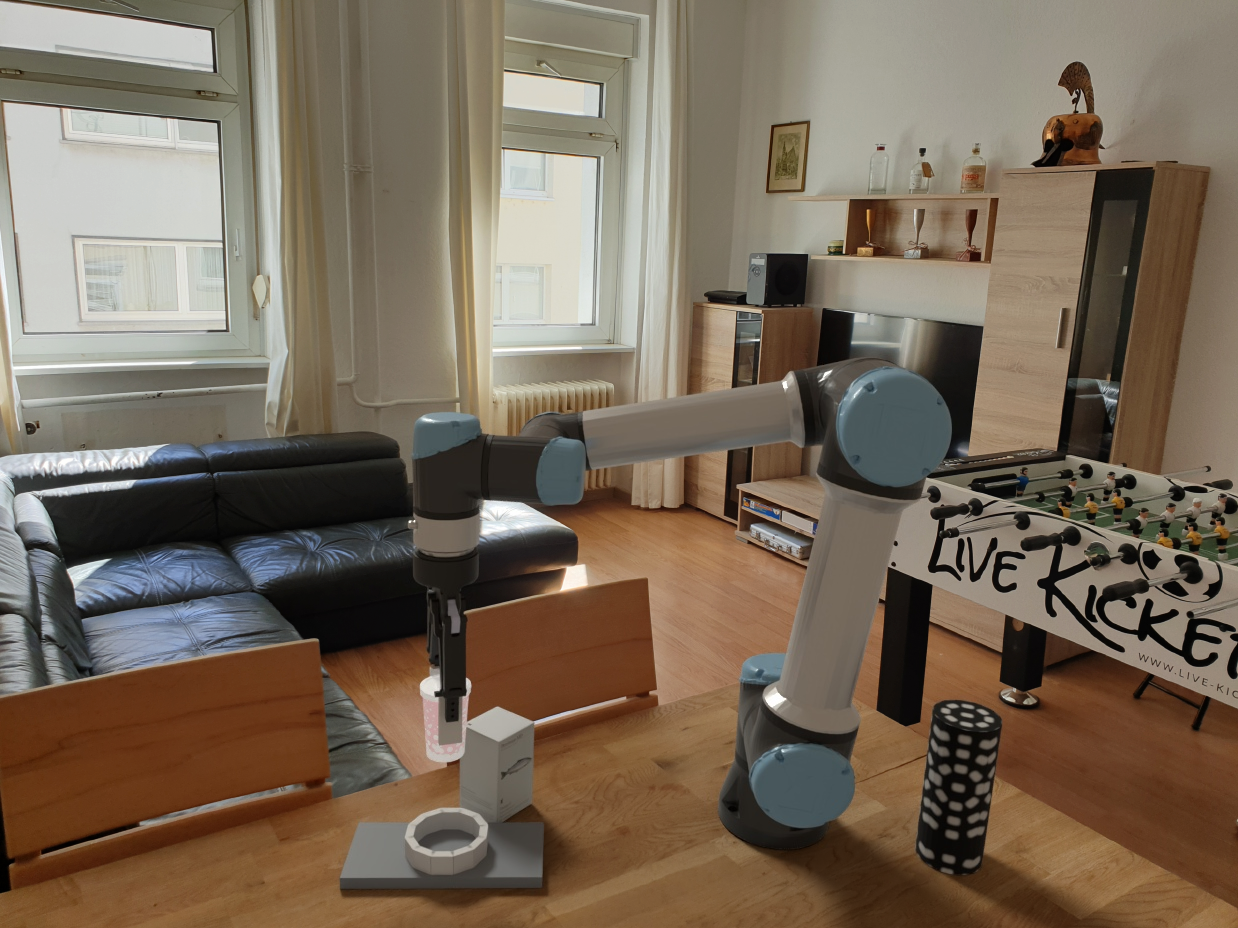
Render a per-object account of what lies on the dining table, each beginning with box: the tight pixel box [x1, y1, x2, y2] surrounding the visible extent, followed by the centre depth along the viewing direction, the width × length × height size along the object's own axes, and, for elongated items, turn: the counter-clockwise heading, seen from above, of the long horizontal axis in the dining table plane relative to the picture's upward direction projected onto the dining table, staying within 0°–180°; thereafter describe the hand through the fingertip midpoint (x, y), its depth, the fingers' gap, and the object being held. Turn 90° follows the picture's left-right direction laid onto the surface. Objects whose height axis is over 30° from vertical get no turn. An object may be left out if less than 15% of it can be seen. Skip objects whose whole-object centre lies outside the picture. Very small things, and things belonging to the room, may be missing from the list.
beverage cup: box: [419, 674, 472, 763], centre depth 114 cm, size 6×6×14 cm
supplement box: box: [459, 706, 535, 822], centre depth 129 cm, size 7×7×13 cm
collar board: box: [339, 807, 545, 890], centre depth 118 cm, size 24×11×4 cm, turn 93°
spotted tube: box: [914, 699, 1004, 876], centre depth 121 cm, size 8×8×20 cm
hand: (445, 728), depth 114 cm, fingers closed on beverage cup, 6 cm apart
